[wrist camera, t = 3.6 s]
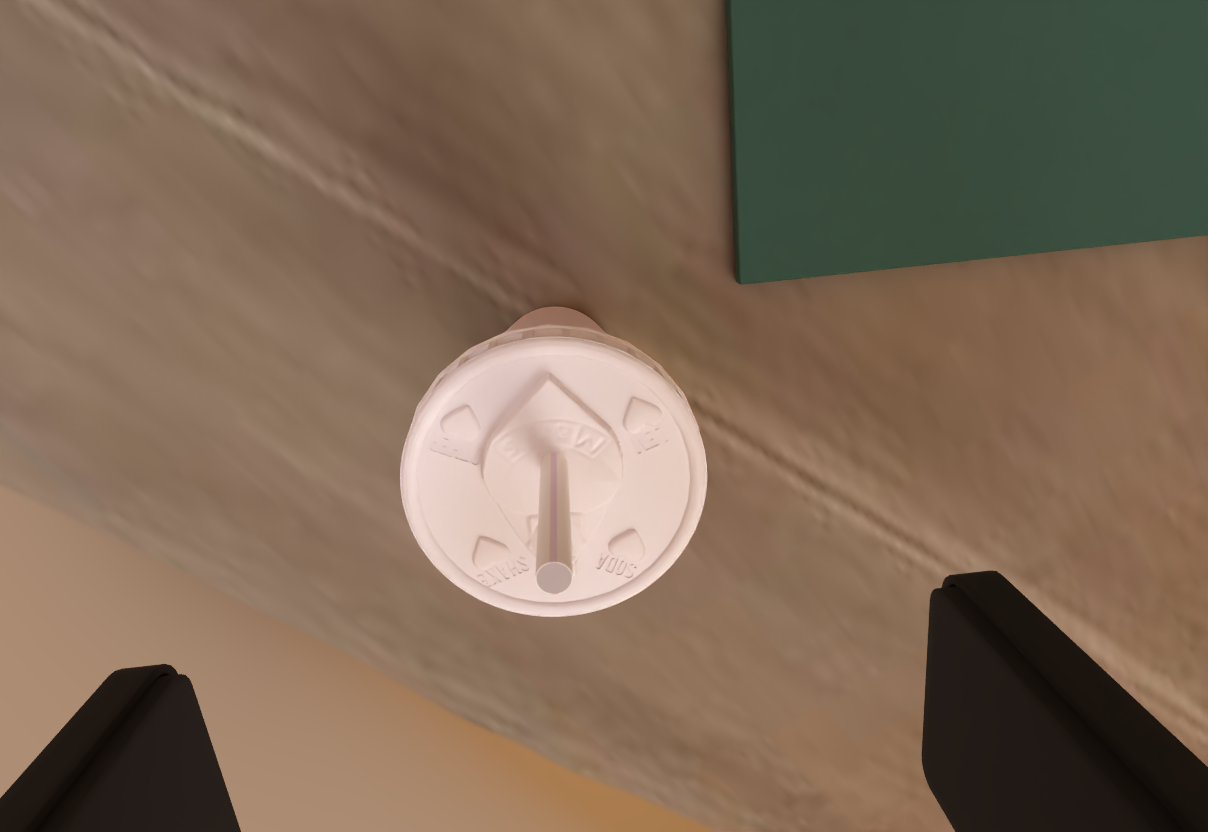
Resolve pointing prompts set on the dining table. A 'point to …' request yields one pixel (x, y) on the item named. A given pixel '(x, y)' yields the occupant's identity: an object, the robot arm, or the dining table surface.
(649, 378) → the smoothie
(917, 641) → the dining table surface
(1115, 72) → the mat
